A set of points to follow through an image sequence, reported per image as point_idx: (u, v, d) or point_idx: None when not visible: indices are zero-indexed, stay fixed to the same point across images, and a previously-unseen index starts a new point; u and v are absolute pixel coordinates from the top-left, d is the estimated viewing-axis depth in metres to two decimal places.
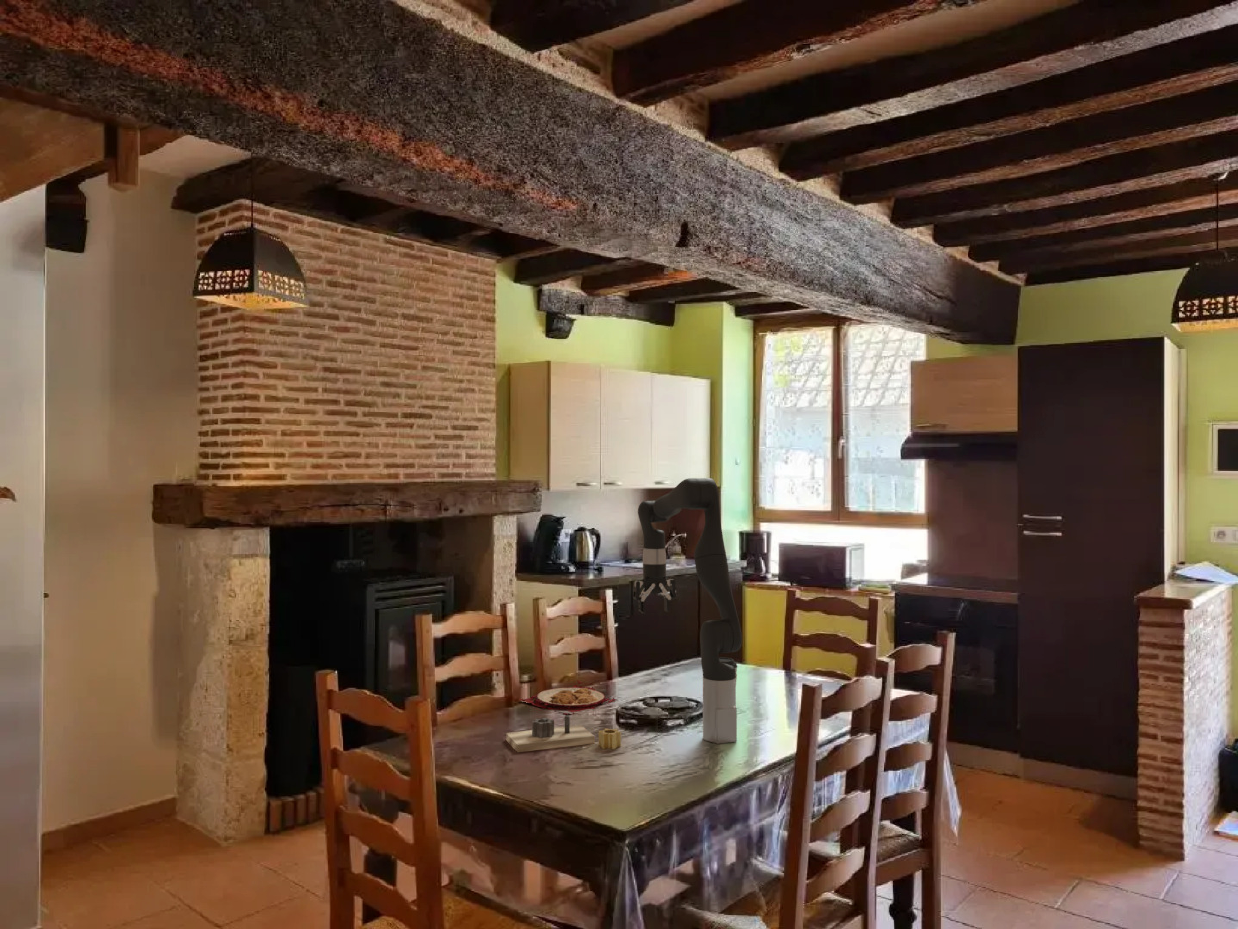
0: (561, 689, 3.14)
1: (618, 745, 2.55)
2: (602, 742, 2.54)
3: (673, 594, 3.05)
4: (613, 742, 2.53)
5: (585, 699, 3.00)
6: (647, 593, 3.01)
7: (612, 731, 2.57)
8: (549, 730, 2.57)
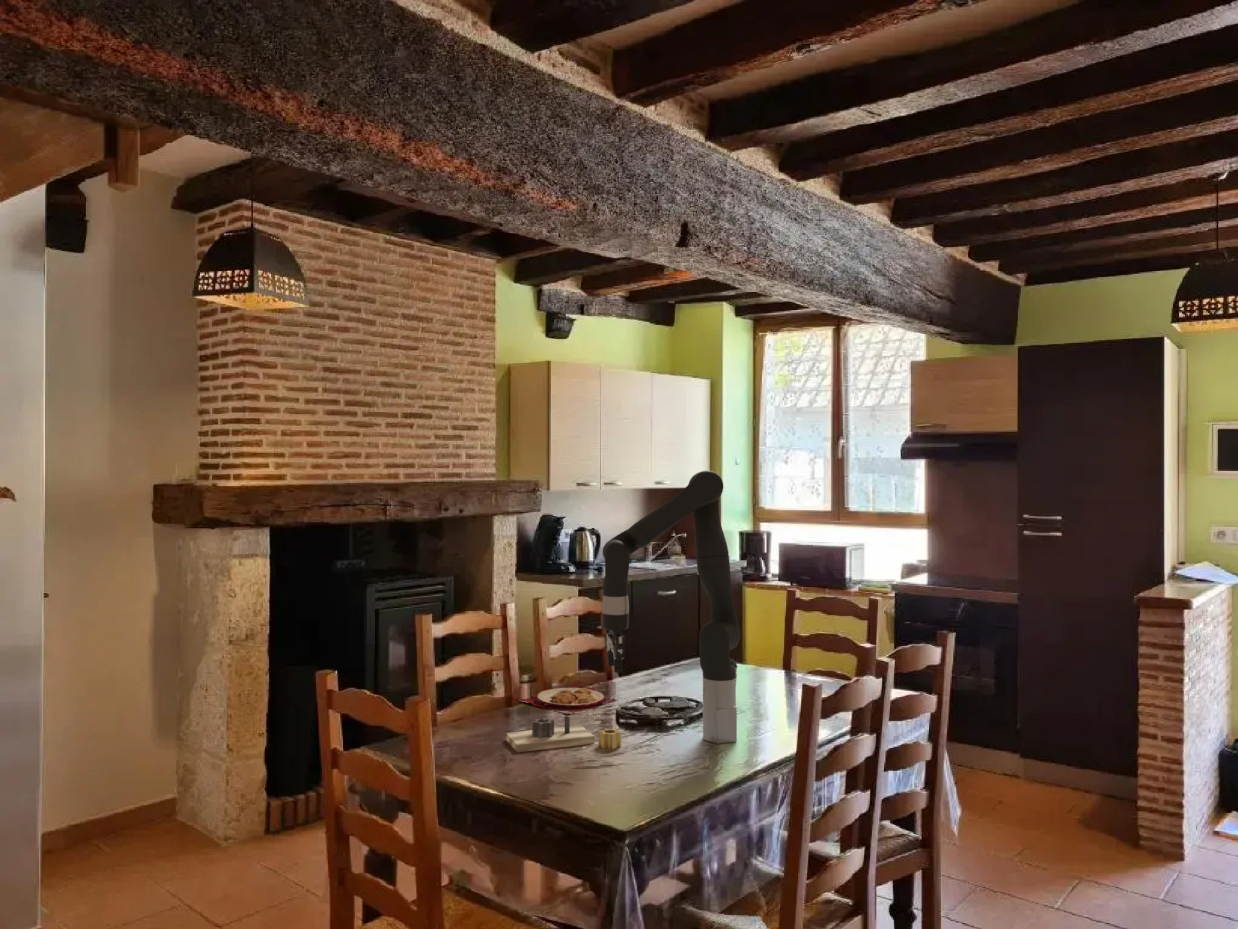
0: (561, 689, 3.14)
1: (618, 745, 2.55)
2: (602, 742, 2.54)
3: None
4: (613, 742, 2.53)
5: (585, 699, 3.00)
6: None
7: (612, 731, 2.57)
8: (549, 730, 2.57)
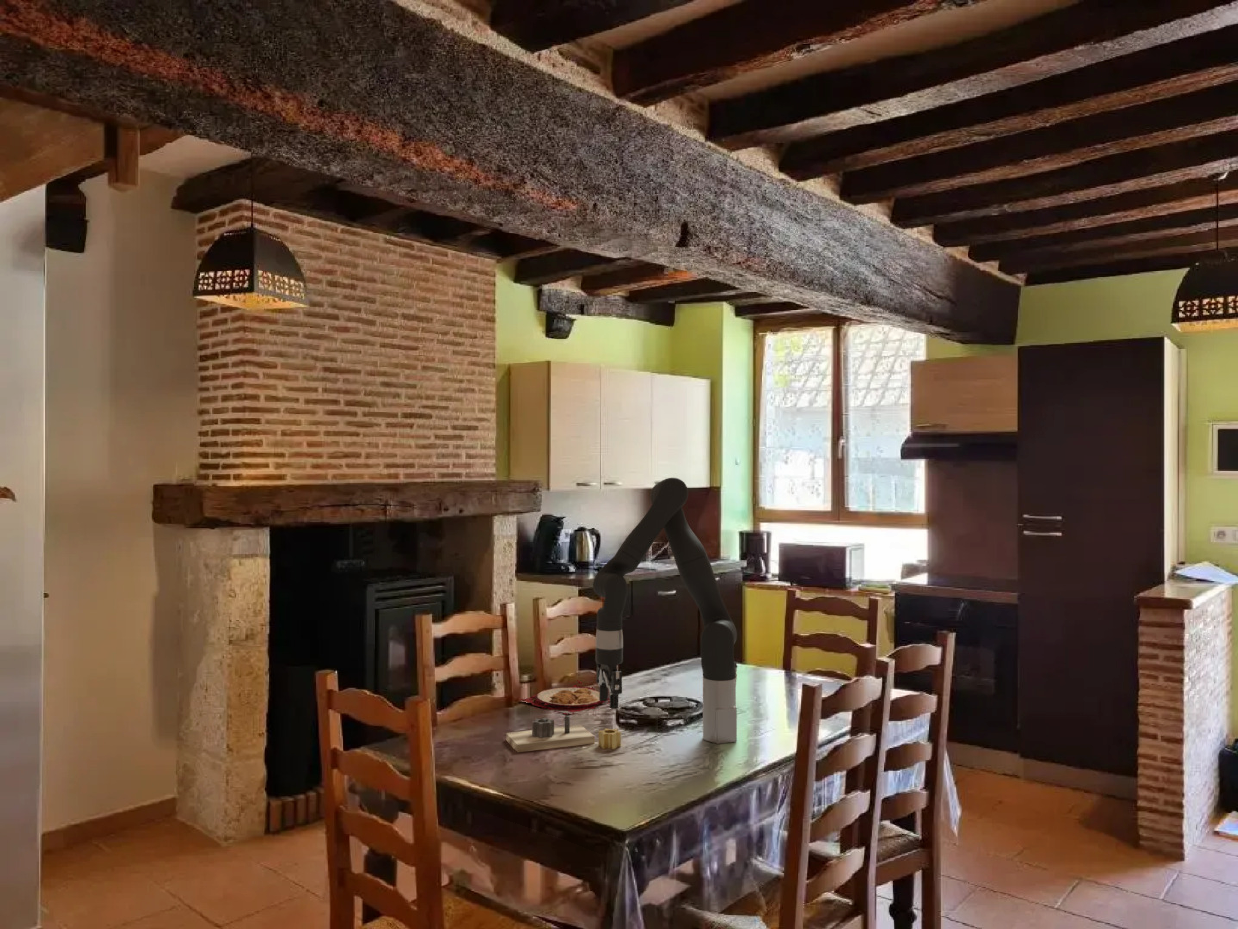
0: (561, 689, 3.14)
1: (618, 745, 2.55)
2: (602, 742, 2.54)
3: None
4: (613, 742, 2.53)
5: (585, 699, 3.00)
6: None
7: (612, 731, 2.57)
8: (549, 730, 2.57)
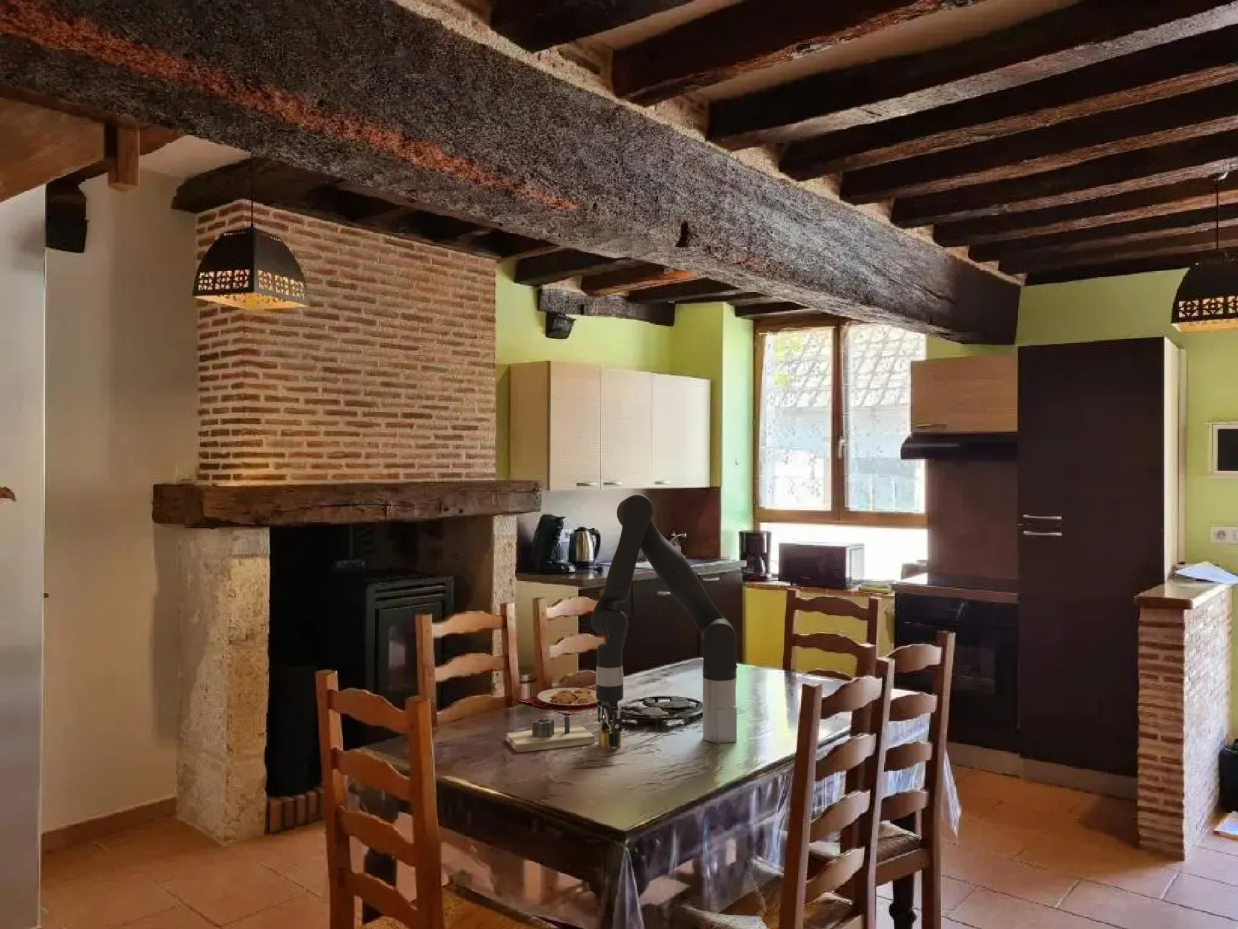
0: (561, 689, 3.14)
1: (618, 745, 2.55)
2: (602, 742, 2.54)
3: None
4: None
5: (585, 699, 3.00)
6: None
7: None
8: (549, 730, 2.57)
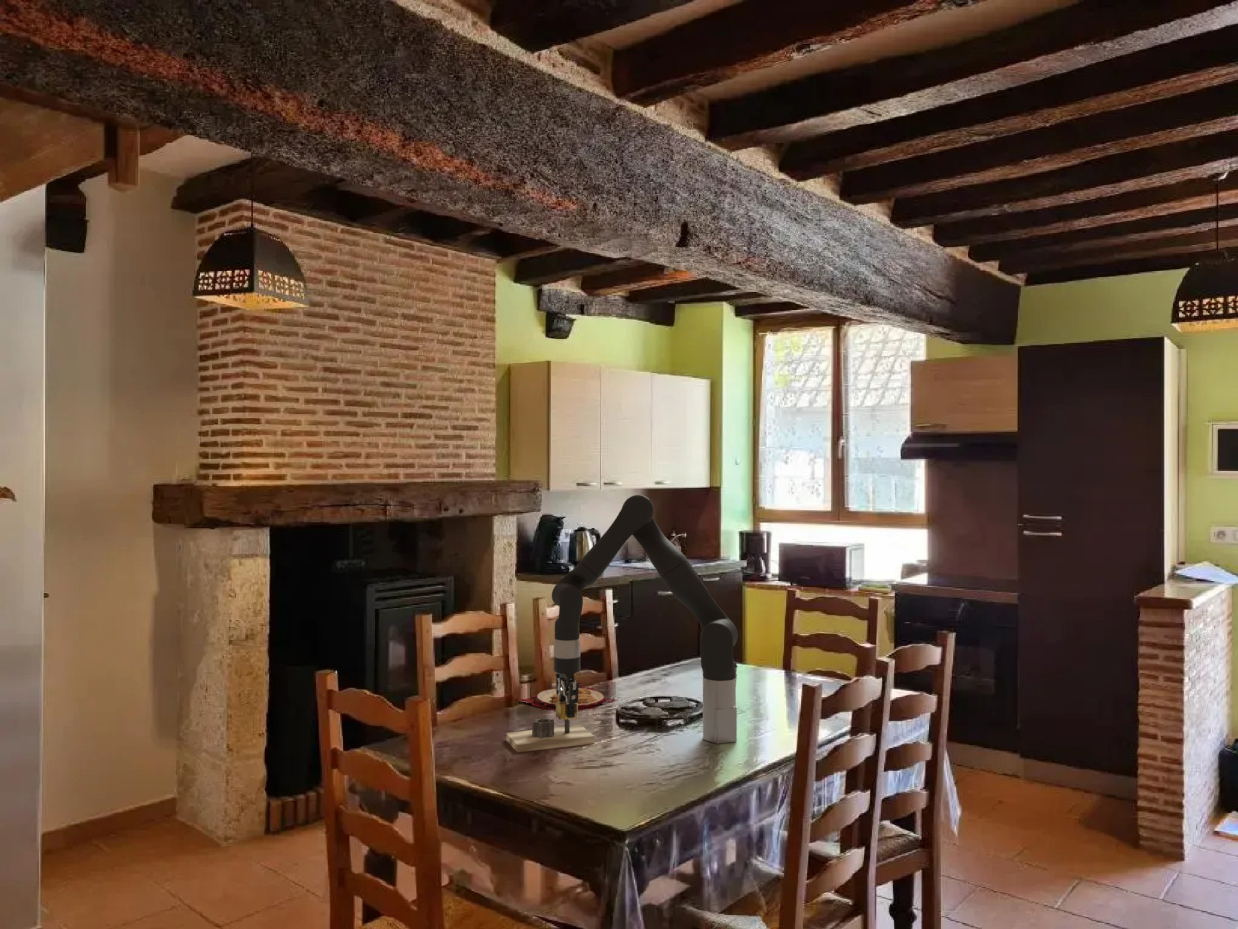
0: None
1: (575, 716, 2.61)
2: (559, 713, 2.60)
3: None
4: None
5: (585, 699, 3.00)
6: None
7: None
8: (549, 730, 2.57)
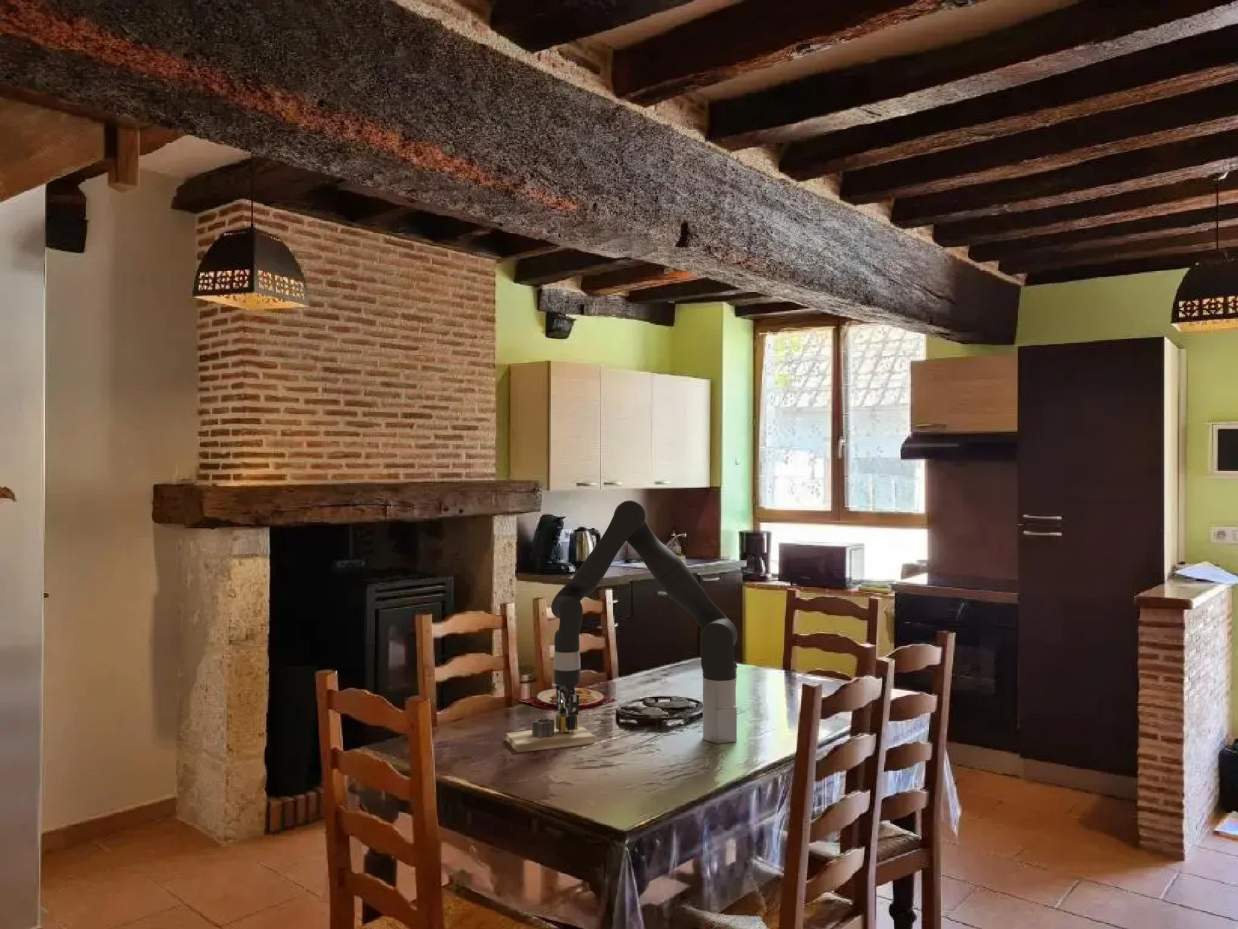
0: None
1: (575, 728, 2.61)
2: (559, 725, 2.60)
3: None
4: None
5: (585, 699, 3.00)
6: None
7: None
8: (549, 730, 2.57)
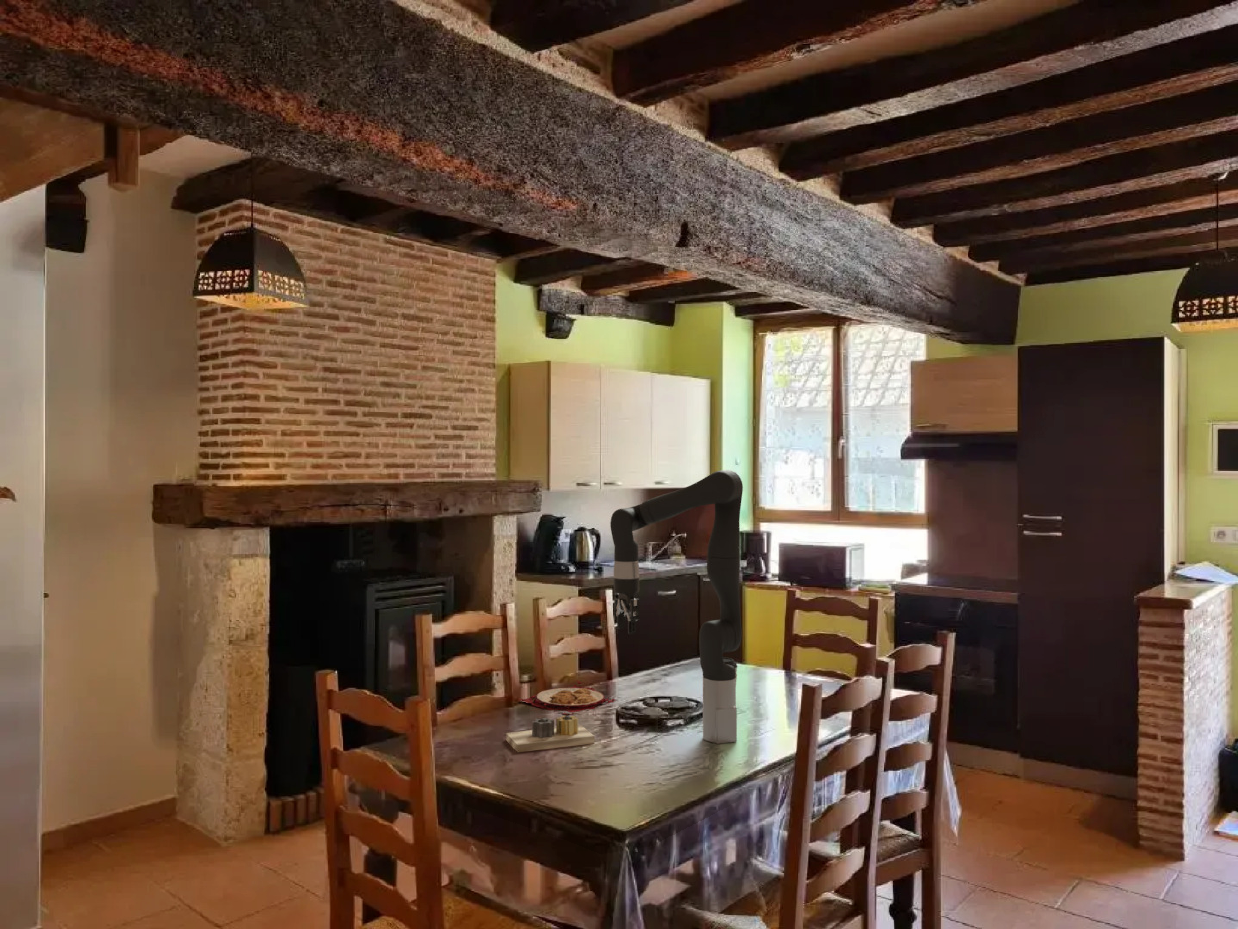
0: (561, 689, 3.14)
1: (575, 732, 2.61)
2: (559, 729, 2.60)
3: None
4: (570, 728, 2.59)
5: (584, 699, 3.00)
6: None
7: (570, 718, 2.63)
8: (549, 730, 2.57)
